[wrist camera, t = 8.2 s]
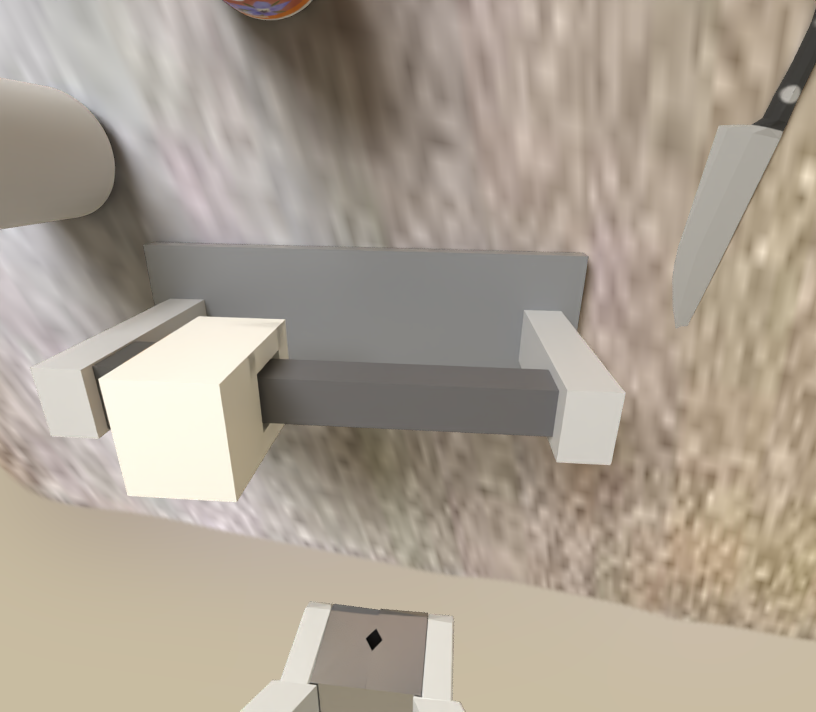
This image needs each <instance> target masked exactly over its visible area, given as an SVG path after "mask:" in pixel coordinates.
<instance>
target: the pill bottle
mask: <svg viewBox="0 0 816 712" xmlns="http://www.w3.org/2000/svg"><path fill="white" fill-rule="evenodd" d="M223 1H224V2H226V3H227V4H228V5H230V6H231V7H233V8H234V9H236V10H238V11H239V12H241V13H243V14H245V15H247V16H250V17H253V18H257V19H261V20H280V19H284V18H288V17H290V16H293V15H294V14H296V13H298V12H300V11H301V10H303V9H304V8H305V7H306V6H308V5H309V4H310V3H311V1H312V0H223Z"/></svg>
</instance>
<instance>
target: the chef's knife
mask: <svg viewBox="0 0 816 712" xmlns="http://www.w3.org/2000/svg"><path fill="white" fill-rule="evenodd" d="M815 63H816V10H815V13H814V16H813V19H812V22H811V24H810V27H809V29H808V31H807V33H806V35H805V37H804V39H803V41H802V43H801V46H800V48H799V50H798V52H797V54H796V56H795V58H794V60H793V62H792V64H791V66H790V68H789V70H788V71H787V73H786V75H785V77H784V79H783V80H782V82H781V84H780V86H779V88H778V89H777V91H776V93H775V95H774V97H773V99H772V101H771V103H770V105H769V107H768V109H767V111H766V113H765V115H764V117H763V118H762V119H761V120H759V121H757V122H756V123H754V124H752V125H723V126H719V127H718V130H717V133H716V136H715V139H714V142H713V145H712V148H711V151H710V154H709V157H708V160H707V163H706V166H705V169H704V172H703V175H702V178H701V181H700V184H699V187H698V190H697V193H696V196H695V199H694V202H693V205H692V208H691V211H690V214H689V217H688V220H687V223H686V226H685V229H684V232H683V235H682V238H681V241H680V244H679V247H678V251H677V255H676V259H675V264H674V271H673V311H674V319H675V326H676V328H679V327H681V326H687V325H688V323H689V322H690V320H691V318H692V316H693V314H694V312H695V310H696V308H697V306H698V304H699V302H700V300H701V298H702V296H703V294H704V292H705V290H706V288H707V286H708V284H709V282H710V280H711V278H712V276H713V274H714V272H715V270H716V268H717V266H718V264H719V262H720V260H721V258H722V256H723V254H724V252H725V250H726V248H727V246H728V244H729V242H730V240H731V238H732V236H733V234H734V232H735V230H736V228H737V226H738V224H739V222H740V220H741V218H742V216H743V213H744V211H745V209H746V207H747V205H748V203H749V201H750V199H751V197H752V195H753V193H754V191H755V189H756V187H757V185H758V183H759V181H760V179H761V177H762V175H763V173H764V171H765V169H766V167H767V165H768V163H769V161H770V159H771V157H772V155H773V153H774V151H775V148H776V146H777V144H778V142H779V140H780V138H781V136H782V133H783V131H784V129H785V127H786V125H787V123H788V120H789V118H790V116H791V114H792V111H793V109H794V107H795V104H796V102H797V100H798V98H799V96H800V94H801V92H802V90H803V88H804V85H805V83H806V81H807V79H808V77H809V75H810V73H811V71H812V69H813V67H814V65H815Z"/></svg>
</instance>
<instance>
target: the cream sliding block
mask: <svg viewBox="0 0 816 712" xmlns="http://www.w3.org/2000/svg"><path fill="white" fill-rule="evenodd" d="M270 359H289V357H288V346H287V334H286V323H285V319H261V318H232V317H203V316H198V317H197V318H195V319H194V320H192V321H190V322H189V323H187V324H186V325H184V326H182V327H181V328H179V329H178V330H176V331H174V332H173V333H171V334H170V335H168V336H166V337H165V338H163V339H162V340H160V341H158V342H157V343H155V344H154V345H152V346H150V347H149V348H147V349H146V350H144V351H142V352H141V353H139V354H138V355H136V356H134V357H133V358H131V359H130V360H128V361H126V362H125V363H123V364H122V365H120V366H118V367H117V368H115V369H114V370H112V371H110V372H109V373H107V374H106V375H104V376H102V377H101V378H99V379H98V380H99V384H100V388H101V392H102V396H103V400H104V404H105V408H106V412H107V416H108V420H109V424H110V428H111V432H112V436H113V440H114V443H115V447H116V451H117V455H118V459H119V463H120V467H121V471H122V475H123V479H124V483H125V487H126V491H127V495H128V496H140V497H157V498H174V499H191V500H208V501H225V502H237V501H238V499H239V498H240V496H241V494H242V493H243V491H244V489H245V488H246V486H247V485H248V483H249V481H250V480H251V478H252V476H253V475H254V473H255V471H256V470H257V468H258V467H259V465H260V463H261V462H262V460H263V458H264V457H265V455H266V454H267V452H268V450H269V449H270V447H271V445H272V444H273V442H274V440H275V439H276V437H277V436H278V434H279V432H280V431H281V429H282V427H283V426H284V424H277V423H262V415H261V406H260V398H259V389H258V381H257V374H258V372H259V371H260V370H261V369H262V368H263V367H264V366H265V365H266V363H267V362H268V361H269V360H270Z"/></svg>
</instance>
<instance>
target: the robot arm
mask: <svg viewBox="0 0 816 712" xmlns="http://www.w3.org/2000/svg"><path fill="white" fill-rule="evenodd" d="M453 642H454V618H453V616H449V615H437V614H429V615H428V613H423V612H412V611H399V610H389V609H381V610H376V609H369V608H362V607H354V606H346V605H338V604H330V603H321V602H312V601H310V602H309V604H308V605H307V607H306V608H305V611H304V614H303V617H302V619H301V622H300V625H299V628H298V631H297V634H296V637H295V639H294V642H293V645H292V648H291V651H290V654H289V657H288V660H287V662H286V665H285V668H284V671H283V674H282V677H281V679H280V680H272V681H271V682H270V683H269V684H268V685H267V686H266V687H265V688H264V689H263V690H262V691H261V692H260V693H258V694H257V696H255V697H254V698H253V699H252V700H251V701H250V702H249V703H248V704H247V705H246V706H245V707H244V708H243V709H242V710H241V711H239V712H465V710H464V708H463V706H462V704H461V702H458V701H452V698H453V697H452V696H453V648H454V643H453Z"/></svg>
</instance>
